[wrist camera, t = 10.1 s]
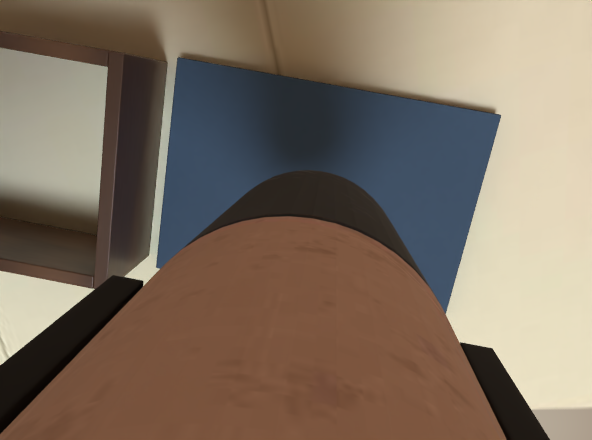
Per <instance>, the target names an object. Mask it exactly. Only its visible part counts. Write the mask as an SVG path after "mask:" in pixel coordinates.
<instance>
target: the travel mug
mask: <svg viewBox="0 0 592 440" xmlns="http://www.w3.org/2000/svg"><path fill="white" fill-rule="evenodd" d="M0 440H507V439H506V437H505V435H504V433H503V431H502V429H501V427H500V425H499V423H498V421H497V419H496V417H495V415H494V413H493V411H492V409H491V407H490V404H489V402H488V400H487V398H486V396H485V394H484V392H483V390H482V388H481V386H480V384H479V382H478V380H477V378H476V376H475V374H474V372H473V370H472V368H471V366H470V364H469V362H468V360H467V357H466V355H465V353H464V351H463V349H462V347H461V345H460V343H459V341H458V339H457V337H456V335H455V333H454V331H453V329H452V327H451V325H450V323H449V321H448V319H447V317H446V315H445V312H444V310H443V308H442V306H441V305H440V303H439V302H438V299H437V298H436V296H435V294H434V293H433V291H432V289H431V288H430V286H429V284H428V283H427V281H426V279H425V278H424V276H423V274H422V273H421V271H420V269H419V268H418V266H417V264H416V263H415V261H414V259H413V258H412V256H411V254H410V253H409V251H408V249H407V248H406V246H405V244H404V243H403V241H402V240H401V238H400V236H399V235H398V233H397V231H396V230H395V228H394V226H393V225H392V223H391V221H390V220H389V218H388V217H387V215H386V214H385V212H384V211H383V209H382V208H381V207H380V205H379V204H378V203H377V202H376V201H375V199H374V198H373V197H372V196H370V195H369V194H368V193H367V192H366V191H365V190H364V189H362V188H361V187H359V186H358V185H357V184H355V183H353V182H351V181H349V180H348V179H346V178H344V177H341V176H338V175H335V174H332V173H328V172H323V171H314V170H299V171H292V172H287V173H283V174H280V175H277V176H274V177H272V178H270V179H267V180H265V181H263V182H262V183H260V184H258V185H257V186H255V187H254V188H252V189H251V190H250V191H248V192H247V193H246V194H245V195H244V196H242V197H241V198H240V199H239V200H238V201H237V202H235V203H234V204H233V205H232V206H231V207H230V208H229V209H227V210H226V211H225V212H224V213H223V214H222V215H220V216H219V217H218V218H217V219H216V220H215V221H214V222H212V223H211V224H210V225H209V226H208V227H207V228H205V229H204V230H203V231H202V232H201V233H200V234H199V235H197V236H196V237H195V238H194V239H193V240H192V241H191V242H189V243H188V244H187V245H186V246H185V247H184V248H182V249H181V250H180V251H179V252H178V253H177V254H176V255H174V256H173V257H172V258H171V259H170V260H169V261H168V262H167V263H166V264H165V265H164V266H163V267H162V268H161V269H160V270H159V271H158V272H157V273H156V274H155V275H154V276H153V277H152V278H151V279H150V280H149V281H148V282H147V283H146V284H145V285H144V286H143V287H142V288H141V289H140V290H139V291H138V293H137V294H136V295H135V296H134V297H133V298H132V299H131V300H130V301H129V302H128V303H127V304H126V305H125V306H124V307H123V308H122V309H121V310H120V311H119V312H118V313H117V314H116V315H115V316H114V317H113V318H112V319H111V320H110V321H109V322H108V323H107V325H106V326H105V327H104V328H103V329H102V330H101V331H100V332H99V333H98V334H97V335H96V336H95V337H94V338H93V339H92V340H91V341H90V342H89V343H88V344H87V345H86V346H85V347H84V348H83V349H82V350H81V351H80V352H79V353H78V354H77V355H76V357H75V358H74V359H73V360H72V361H71V362H70V363H69V364H68V365H67V366H66V367H65V368H64V369H63V370H62V371H61V372H60V373H59V374H58V375H57V376H56V377H55V378H54V379H53V380H52V381H51V382H50V383H49V384H48V385H47V386H46V387H45V389H44V390H43V391H42V392H41V393H40V394H39V395H38V396H37V397H36V398H35V399H34V400H33V401H32V402H31V403H30V404H29V405H28V406H27V407H26V408H25V409H24V410H23V411H22V412H21V413H20V414H19V415H18V416H17V417H16V418H15V419H14V421H13V422H12V423H11V424H10V425H9V426H8V427H7V428H6V429H5V430H4V431H3V432H2V433H1V434H0Z"/></svg>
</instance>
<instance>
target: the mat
mask: <svg viewBox="0 0 592 440" xmlns="http://www.w3.org/2000/svg"><path fill="white" fill-rule="evenodd" d="M500 118H501V115H499V114H494V113H488V112H482V111H477V110H471V109H465V108H460V107H454V106H449V105H443V104H437V103H432V102H426V101H421V100H415V99H409V98H404V97H398V96H393V95H387V94H381V93H376V92H370V91H365V90H359V89H353V88H348V87H342V86H337V85H331V84H325V83H320V82H314V81H309V80H303V79H297V78H292V77H286V76H281V75H275V74H269V73H264V72H258V71H253V70H247V69H241V68H236V67H230V66H225V65H219V64H213V63H208V62H202V61H197V60H191V59H185V58H180V57H178V58H177V68H176V78H175V87H174V97H173V107H172V117H171V127H170V137H169V146H168V156H167V166H166V176H165V186H164V196H163V205H162V215H161V225H160V235H159V245H158V255H157V264H156V268H160V269H161V268H162V267H163V266H164V265H165V264H166V263H167V262H168V261H169V260H170V259H171V258H172V257H173V256H174V255H176V254H177V253H178V252H179V251H180V250H181V249H182V248H184V247H185V246H186V245H187V244H188V243H189V242H191V241H192V240H193V239H194V238H195V237H196V236H197V235H199V234H200V233H201V232H202V231H203V230H204V229H205V228H207V227H208V226H209V225H210V224H211V223H212V222H214V221H215V220H216V219H217V218H218V217H219V216H220V215H222V214H223V213H224V212H225V211H226V210H227V209H229V208H230V207H231V206H232V205H233V204H234V203H235V202H237V201H238V200H239V199H240V198H241V197H242V196H244V195H245V194H246V193H247V192H248V191H250V190H251V189H252V188H254V187H255V186H257V185H258V184H260V183H262V182H263V181H265V180H267V179H270V178H272V177H274V176H277V175H280V174H283V173H287V172H292V171H299V170H314V171H323V172H328V173H332V174H335V175H338V176H341V177H344V178H346V179H348V180H349V181H351V182H353V183H355V184H357V185H358V186H359V187H361V188H362V189H364V190H365V191H366V192H367V193H368V194H369V195H370V196H372V197H373V198H374V199H375V201H376V202H377V203H378V204H379V205H380V207H381V208H382V209H383V211H384V212H385V214H386V215H387V217H388V218H389V220H390V221H391V223H392V225H393V226H394V228H395V230H396V231H397V233H398V235H399V236H400V238H401V240H402V241H403V243H404V244H405V246H406V248H407V249H408V251H409V253H410V254H411V256H412V258H413V259H414V261H415V263H416V264H417V266H418V268H419V269H420V271H421V273H422V274H423V276H424V278H425V279H426V281H427V283H428V284H429V286H430V288H431V289H432V291H433V293H434V294H435V296H436V298H437V299H438V302H439V303H440V305H441V306H442V308H443V310H444V312H445V314H446V311H447V307H448V303H449V300H450V296H451V293H452V289H453V286H454V282H455V278H456V275H457V271H458V268H459V264H460V261H461V257H462V254H463V250H464V246H465V243H466V239H467V236H468V232H469V229H470V225H471V221H472V218H473V214H474V211H475V207H476V204H477V200H478V196H479V193H480V189H481V186H482V182H483V179H484V175H485V172H486V168H487V164H488V161H489V157H490V154H491V150H492V147H493V143H494V139H495V136H496V132H497V129H498V125H499V122H500Z"/></svg>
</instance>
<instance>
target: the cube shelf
mask: <svg viewBox="0 0 592 440" xmlns="http://www.w3.org/2000/svg"><path fill="white" fill-rule="evenodd" d="M0 47H1V48H6V49H12V50H17V51H23V52H28V53H34V54H40V55H45V56H51V57H56V58H62V59H67V60H73V61H78V62H84V63H90V64H95V65H101V66H106V67H108V76H107V91H106V107H105V122H104V137H103V153H102V168H101V183H100V198H99V214H98V229H97V235H93V234H87V233H82V232H77V231H72V230H66V229H61V228H56V227H51V226H45V225H40V224H35V223H30V222H25V221H19V220H14V219H9V218H4V217H0V271H5V272H10V273H15V274H20V275H26V276H31V277H36V278H41V279H46V280H51V281H56V282H62V283H67V284H72V285H77V286H82V287H87V288H94V289H96V288H97V287H99V286H100V285H101V284H102V283H104V282H105V281H106V280H107V279H109V278H110V277H111V276H112V275H115V276H121V277H124V276H125V275H126V274H128V273H129V272H130V271H131V270H132V269H133V268H135V267H136V266H137V265H138V264H139V263H140V262H142V261H143V260H144V259H145V258H146V257H147V256H149V248H150V237H151V227H152V217H153V206H154V196H155V186H156V175H157V165H158V155H159V144H160V134H161V123H162V113H163V103H164V92H165V82H166V72H167V62H164V61H159V60H154V59H149V58H145V57H140V56H135V55H130V54H126V53H121V52H115V51H109V50H104V49H98V48H93V47H87V46H81V45H76V44H70V43H65V42H59V41H53V40H48V39H42V38H37V37H31V36H25V35H20V34H14V33H9V32H3V31H0Z"/></svg>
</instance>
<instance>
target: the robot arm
mask: <svg viewBox="0 0 592 440" xmlns="http://www.w3.org/2000/svg"><path fill="white" fill-rule="evenodd" d="M142 287H143V281H141V280H136V279H131V278H126V277H121V276H115V275H112V276H111V277H110V278H109V279H107V280H106V281H105V282H104V283H102V284H101V285H100V286H99V287H97V288H96V289H95V290H94V291H92V292H91V293H90V294H89V295H87V296H86V297H85V298H84V299H82V300H81V301H80V302H79V303H77V304H76V305H75V306H74V307H72V308H71V309H70V310H69V311H67V312H66V313H65V314H64V315H63V316H61V317H60V318H59V319H58V320H56V321H55V322H54V323H53V324H51V325H50V326H49V327H48V328H46V329H45V330H44V331H43V332H41V333H40V334H39V335H38V336H36V337H35V338H34V339H33V340H31V341H30V342H29V343H28V344H26V345H25V346H24V347H23V348H21V349H20V350H19V351H18V352H16V353H15V354H14V355H13V356H12V357H10V358H9V359H8V360H7V361H5V362H4V363H3V364H2V365H0V434H1V433H2V432H3V431H4V430H5V429H6V428H7V427H8V426H9V425H10V424H11V423H12V422H13V421H14V419H15V418H16V417H17V416H18V415H19V414H20V413H21V412H22V411H23V410H24V409H25V408H26V407H27V406H28V405H29V404H30V403H31V402H32V401H33V400H34V399H35V398H36V397H37V396H38V395H39V394H40V393H41V392H42V391H43V390H44V389H45V387H46V386H47V385H48V384H49V383H50V382H51V381H52V380H53V379H54V378H55V377H56V376H57V375H58V374H59V373H60V372H61V371H62V370H63V369H64V368H65V367H66V366H67V365H68V364H69V363H70V362H71V361H72V360H73V359H74V358H75V357H76V355H77V354H78V353H79V352H80V351H81V350H82V349H83V348H84V347H85V346H86V345H87V344H88V343H89V342H90V341H91V340H92V339H93V338H94V337H95V336H96V335H97V334H98V333H99V332H100V331H101V330H102V329H103V328H104V327H105V326H106V325H107V323H108V322H109V321H110V320H111V319H112V318H113V317H114V316H115V315H116V314H117V313H118V312H119V311H120V310H121V309H122V308H123V307H124V306H125V305H126V304H127V303H128V302H129V301H130V300H131V299H132V298H133V297H134V296H135V295H136V294H137V293H138V291H139V290H140V289H141V288H142ZM460 345H461V347H462V349H463V351H464V353H465V355H466V357H467V360H468V362H469V364H470V366H471V368H472V370H473V372H474V374H475V376H476V378H477V380H478V382H479V384H480V386H481V388H482V390H483V392H484V394H485V396H486V398H487V400H488V402H489V404H490V407H491V409H492V411H493V413H494V415H495V417H496V419H497V421H498V423H499V425H500V427H501V429H502V431H503V433H504V435H505V437H506V439H507V440H550V439H549V438H548V436H547V434H546V433H545V432H544V430H543V428H542V427H541V425H540V423H539V422H538V420H537V419H536V417H535V415H534V414H533V412H532V411H531V409H530V407H529V406H528V404H527V403H526V401H525V399H524V398H523V396H522V395H521V393H520V392H519V390H518V388H517V387H516V385H515V384H514V382H513V380H512V379H511V377H510V376H509V374H508V373H507V371H506V369H505V368H504V366H503V365H502V363H501V361H500V360H499V358H498V357H497V355H496V353H495V352H494V350H493V349H492V348H487V347H482V346H477V345H471V344H466V343H461V342H460Z"/></svg>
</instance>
